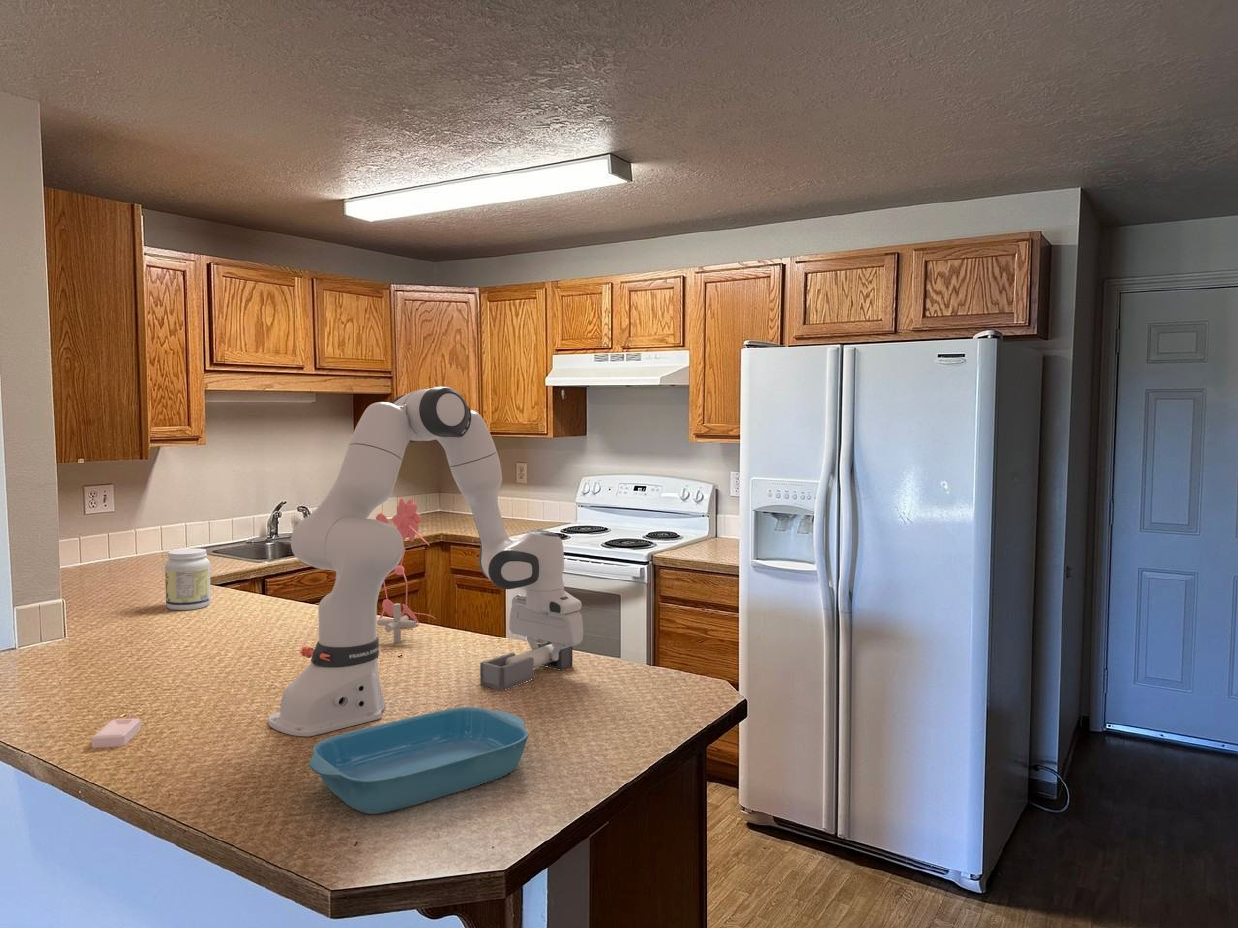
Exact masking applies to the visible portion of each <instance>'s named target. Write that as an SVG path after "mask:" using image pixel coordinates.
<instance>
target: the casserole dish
mask: <svg viewBox="0 0 1238 928" xmlns="http://www.w3.org/2000/svg"><path fill="white" fill-rule="evenodd" d="M525 725H526V722H525V720H524V719H522V718H521V717H519V716H517V715H516V714H513V713H509V712H507V711H501V710H490V709H488V708H483V707H478V706H477V707H475V706H467V707H466V706H465V707H464V706H463V707H455V708H454V707H453V708H450V709H443V710H438V711H432V712H430V713H429V712H428V713H425V714H424V713H423V714H420V715H415V716H410V717H407V718H403V719H399V720H394V721H390V722H386V723H381V724H378V725H373V726H368V727H364V728H359V729H356V730H352V731H348V732H344V733H340V734H337V735H333V736H331V737H327V738H324V739H323V740H320V741H319V742H318V743H316V744H315V745H314V746H313V748H312V757H311V758H310V759H309V763H308V765H309V767H310V769H311V770H312V771H314V773H315V774H318V775H319V776H320V778H321V781H322V782H323V783H324V784H325V786H326V787H327V788H328V789H329V790H330V791H331V792H332V793H333V794H334V795H336V797H338V798H339V799H340V800H341V801H342V802H343V803H345V804H346V805H347V806H349V807H351V808H353V809H354V810H356V811H358V812H361V813H363V814H366V815H379V814H385V813H390V812H393V811H394V812H395V811H397V810H402V809H405V808H409V807H414V806H417V805H419V804H423V803H426V801H427V802H429V801H430V802H431V801H433V799H434V800H436V798H437V799H440V798H442V797H441V796H443V797H446V796H448V795H452V794H457V793H460V792H462V790H463V791H465V790H464V789H466V790H469V789H468V788H470V789H472V788H471V787H473V788H475V787H474V786H476V787H478V786H477V785H479V786H481V785H480V784H482V785H484V784H483V783H485V784H487V783H486V782H488V783H490V782H489V781H491V782H493V781H496V780H498V779H497V778H499V779H501V778H503V777H502V776H504V777H506V776H507V775H508V773H509V774H510V773H511V772H513V770H515V769H516V767H517V766H518V765H519V763H520V761H521V758H522V757H523V754H524V750H525V748H526V744H527V740H528V738H529V730H528V729H527V728H526V727H525ZM505 775H506V776H505ZM500 777H501V778H500ZM495 779H496V780H495ZM492 780H493V781H492ZM459 791H460V792H459ZM456 792H457V793H456ZM439 797H440V798H439Z"/></svg>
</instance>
